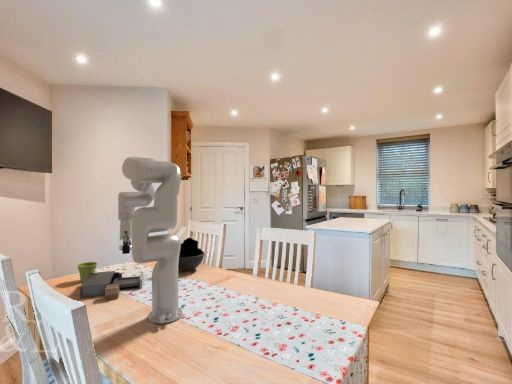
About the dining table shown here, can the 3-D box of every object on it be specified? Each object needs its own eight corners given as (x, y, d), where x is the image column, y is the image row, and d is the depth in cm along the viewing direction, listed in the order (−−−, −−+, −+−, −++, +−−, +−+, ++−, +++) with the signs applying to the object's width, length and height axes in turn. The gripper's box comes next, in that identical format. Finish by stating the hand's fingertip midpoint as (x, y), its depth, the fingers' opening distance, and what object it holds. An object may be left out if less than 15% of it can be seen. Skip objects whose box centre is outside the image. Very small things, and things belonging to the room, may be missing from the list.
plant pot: (101, 277, 151) (101, 262, 151) (89, 283, 142) (89, 267, 142) (85, 277, 152) (85, 261, 152) (72, 283, 143) (72, 266, 143)
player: (117, 293, 128) (117, 282, 128) (80, 298, 123) (80, 286, 123) (122, 280, 147) (122, 270, 147) (90, 283, 142) (90, 273, 142)
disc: (118, 250, 134) (118, 247, 134) (120, 247, 141) (119, 244, 141) (133, 249, 136) (133, 246, 136) (134, 246, 143) (134, 243, 143)
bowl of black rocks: (206, 264, 176) (206, 235, 176) (202, 274, 156) (201, 241, 156) (174, 265, 175) (174, 236, 175) (166, 275, 155) (166, 242, 155)
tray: (142, 287, 135) (141, 279, 135) (111, 291, 130) (111, 283, 130) (143, 279, 148) (143, 271, 148) (115, 282, 143) (115, 274, 143)
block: (117, 298, 123) (117, 287, 123) (105, 300, 121) (105, 289, 121) (119, 294, 127) (119, 284, 127) (107, 296, 126) (107, 285, 126)
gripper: (120, 215, 145) (120, 248, 146) (115, 218, 129) (116, 256, 129) (136, 214, 148) (136, 247, 148) (133, 218, 131) (133, 255, 132)
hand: (126, 251), depth 139 cm, fingers closed on disc, 7 cm apart
